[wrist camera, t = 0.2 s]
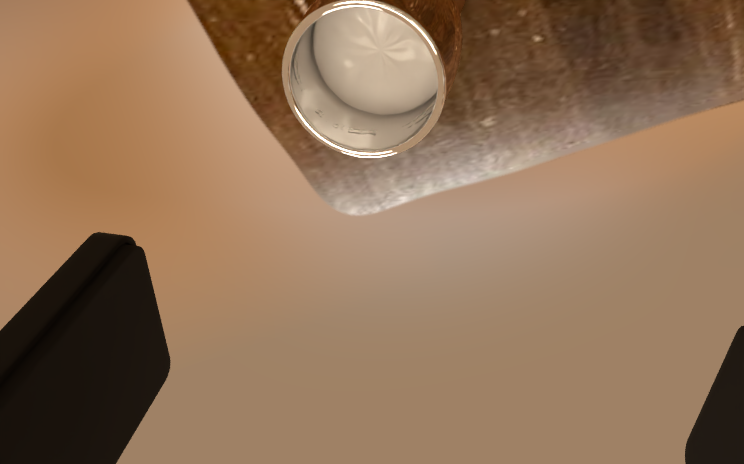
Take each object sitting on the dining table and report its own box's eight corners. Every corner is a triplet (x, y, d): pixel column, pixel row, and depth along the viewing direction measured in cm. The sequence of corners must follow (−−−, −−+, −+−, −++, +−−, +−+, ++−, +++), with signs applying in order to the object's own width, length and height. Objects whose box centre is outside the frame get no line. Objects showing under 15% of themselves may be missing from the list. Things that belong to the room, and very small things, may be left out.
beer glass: (500, -47, 36) (485, 46, 24) (443, 63, 40) (405, 189, 28) (385, -106, 35) (309, -42, 23) (339, 12, 39) (255, 118, 27)
